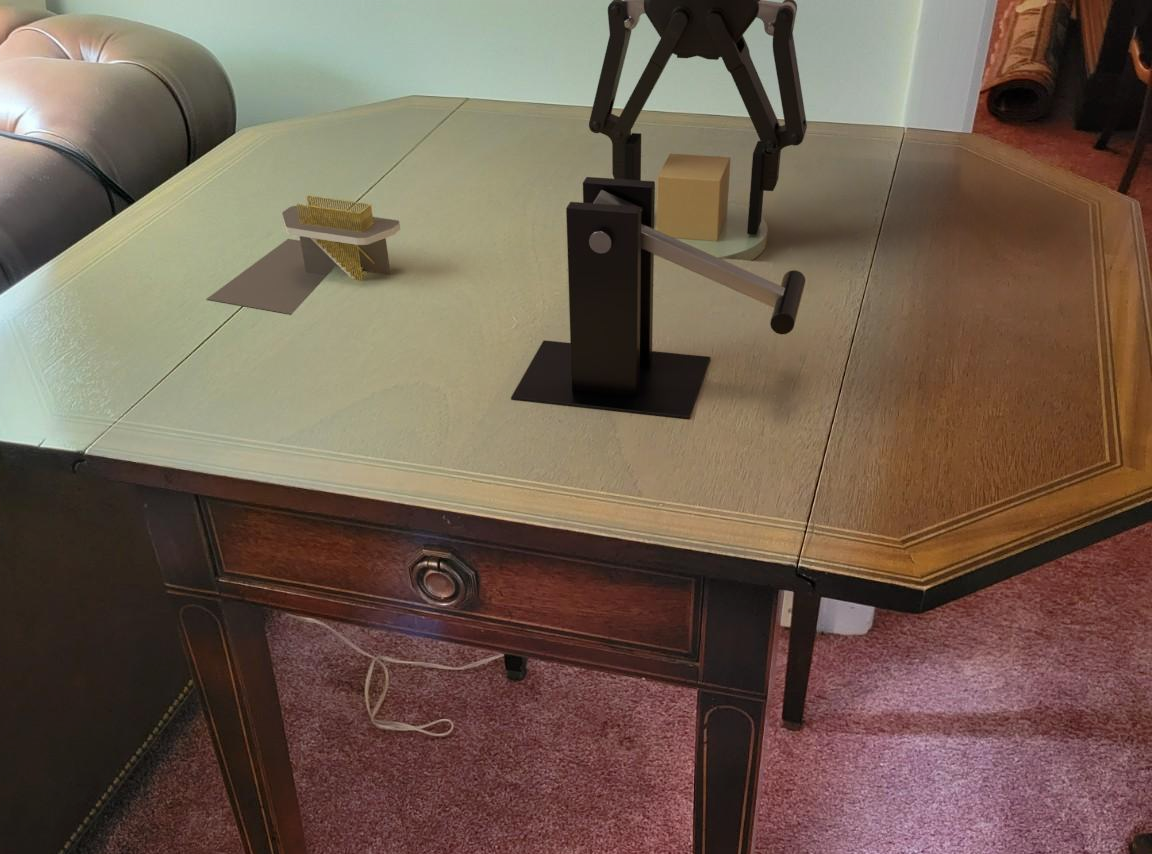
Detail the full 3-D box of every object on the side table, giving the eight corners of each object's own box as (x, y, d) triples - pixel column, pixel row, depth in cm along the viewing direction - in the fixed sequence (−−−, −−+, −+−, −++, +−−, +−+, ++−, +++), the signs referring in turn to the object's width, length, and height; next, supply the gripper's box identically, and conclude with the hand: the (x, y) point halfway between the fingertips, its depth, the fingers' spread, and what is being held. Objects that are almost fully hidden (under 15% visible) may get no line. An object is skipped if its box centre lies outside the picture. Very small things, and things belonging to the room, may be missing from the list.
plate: (775, 217, 104) (776, 203, 103) (755, 278, 95) (756, 264, 94) (638, 207, 107) (638, 193, 106) (606, 266, 98) (606, 252, 97)
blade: (796, 300, 78) (812, 269, 77) (784, 345, 74) (801, 312, 72) (596, 211, 78) (608, 177, 77) (572, 250, 74) (585, 215, 72)
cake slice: (727, 216, 101) (730, 157, 98) (717, 241, 98) (720, 180, 95) (668, 212, 103) (669, 153, 99) (656, 236, 99) (657, 176, 96)
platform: (406, 334, 90) (395, 251, 86) (206, 299, 96) (186, 219, 92) (476, 267, 99) (470, 188, 94) (288, 238, 104) (274, 162, 100)
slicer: (709, 371, 85) (720, 175, 76) (688, 432, 79) (697, 228, 70) (544, 354, 87) (534, 163, 78) (511, 412, 81) (498, 213, 72)
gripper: (870, -93, 86) (833, 214, 100) (567, -99, 91) (574, 195, 105) (861, -68, 80) (824, 253, 95) (540, -76, 85) (551, 230, 100)
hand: (692, 222), depth 100 cm, fingers open, 9 cm apart
